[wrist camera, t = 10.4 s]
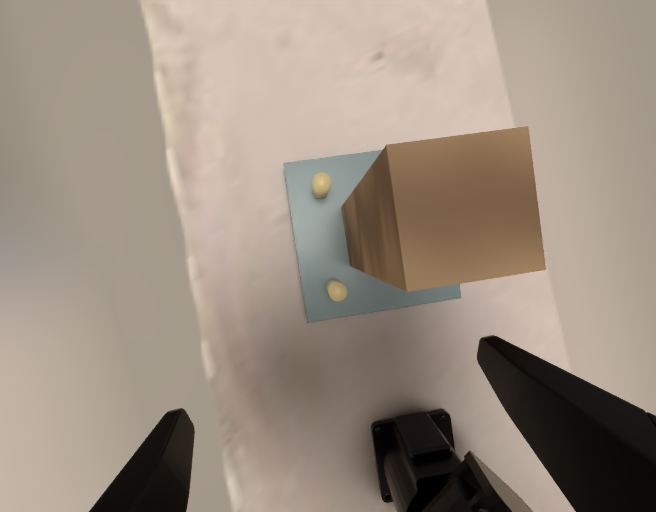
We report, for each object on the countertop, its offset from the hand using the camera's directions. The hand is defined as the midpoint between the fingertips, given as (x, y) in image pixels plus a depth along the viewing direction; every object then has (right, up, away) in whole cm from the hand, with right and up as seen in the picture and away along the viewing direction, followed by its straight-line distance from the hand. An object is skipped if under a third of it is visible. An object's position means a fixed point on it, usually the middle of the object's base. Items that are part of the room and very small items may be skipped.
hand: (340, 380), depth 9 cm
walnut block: (+3, +5, +13) cm, 15 cm away
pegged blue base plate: (+3, +6, +15) cm, 16 cm away
